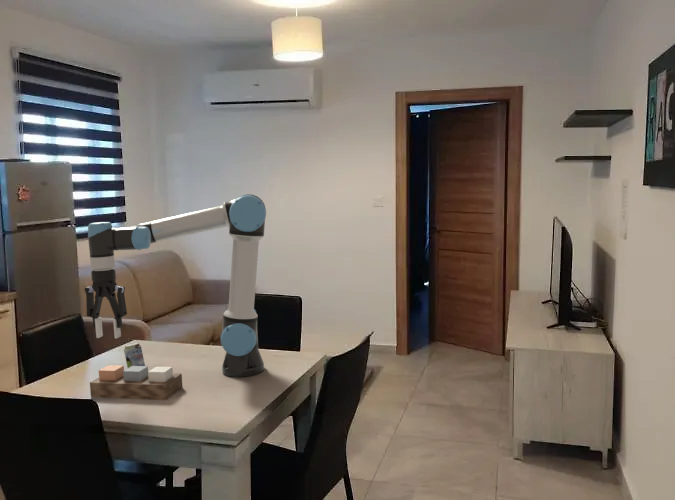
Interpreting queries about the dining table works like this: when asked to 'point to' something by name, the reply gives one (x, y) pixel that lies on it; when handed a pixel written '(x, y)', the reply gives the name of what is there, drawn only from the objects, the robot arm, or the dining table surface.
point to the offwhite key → (160, 374)
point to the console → (136, 388)
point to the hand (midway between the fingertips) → (108, 337)
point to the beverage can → (134, 355)
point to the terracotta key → (111, 372)
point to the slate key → (135, 373)
